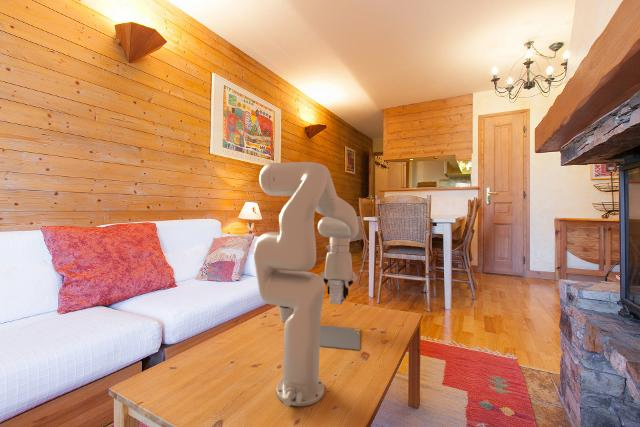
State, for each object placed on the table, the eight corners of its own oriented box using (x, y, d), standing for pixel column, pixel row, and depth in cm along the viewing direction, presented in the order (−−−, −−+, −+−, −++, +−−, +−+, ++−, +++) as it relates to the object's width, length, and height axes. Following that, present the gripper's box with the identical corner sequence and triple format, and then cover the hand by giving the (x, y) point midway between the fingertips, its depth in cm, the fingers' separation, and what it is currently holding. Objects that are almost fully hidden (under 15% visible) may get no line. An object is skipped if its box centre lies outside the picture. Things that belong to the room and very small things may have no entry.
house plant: (302, 328, 118) (303, 288, 118) (268, 327, 118) (269, 287, 118) (304, 315, 132) (305, 279, 132) (274, 314, 133) (275, 278, 133)
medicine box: (340, 305, 107) (341, 281, 107) (329, 303, 109) (329, 280, 109) (345, 299, 115) (346, 277, 115) (334, 297, 116) (335, 275, 116)
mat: (359, 350, 101) (359, 349, 101) (297, 344, 104) (297, 343, 104) (360, 329, 119) (360, 328, 119) (307, 324, 122) (307, 323, 122)
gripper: (315, 249, 109) (314, 297, 109) (361, 251, 107) (360, 301, 107) (318, 246, 117) (317, 292, 117) (362, 249, 114) (360, 295, 114)
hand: (337, 296), depth 112 cm, fingers closed on medicine box, 5 cm apart
